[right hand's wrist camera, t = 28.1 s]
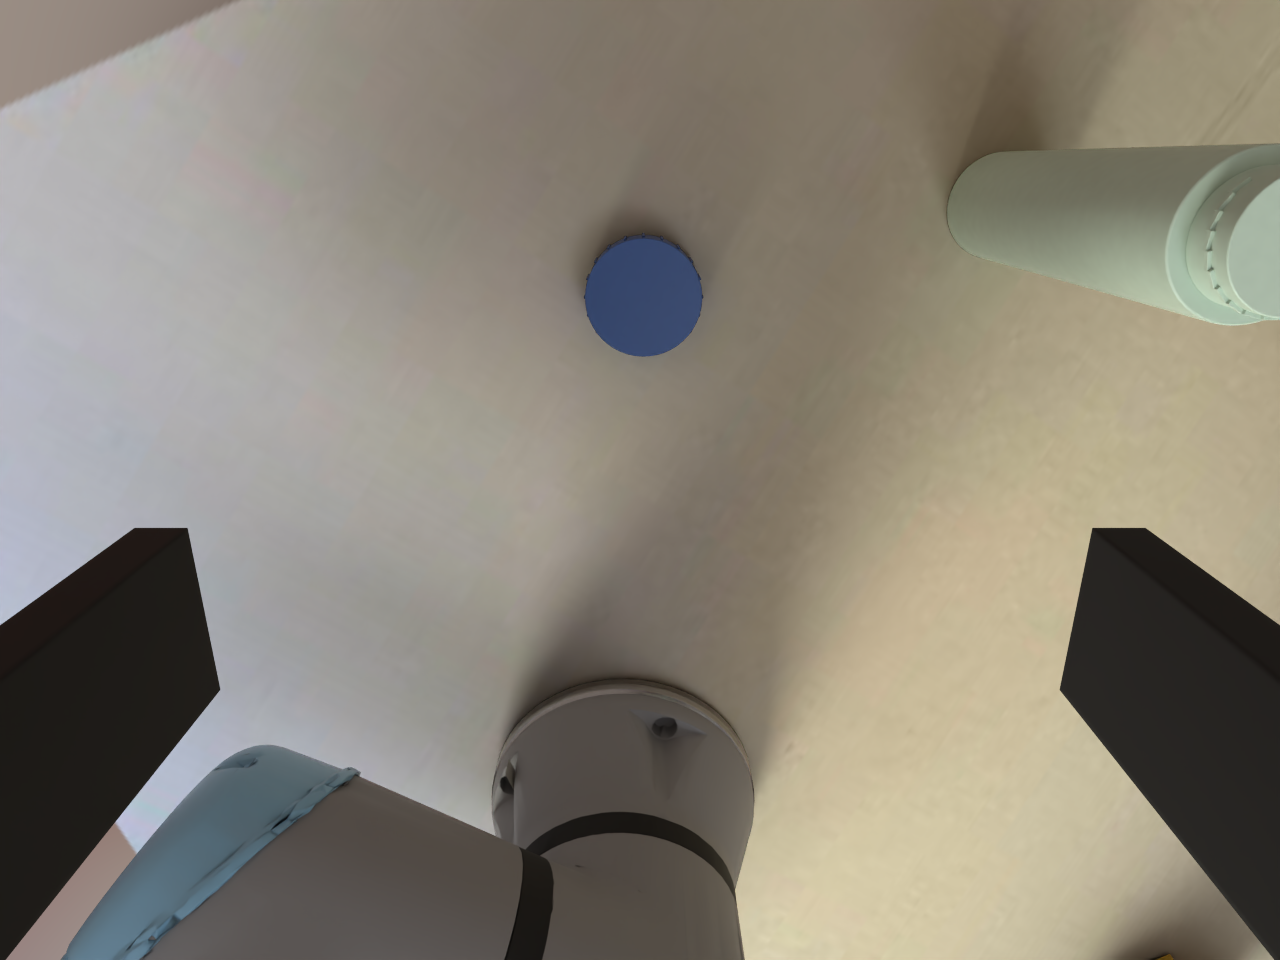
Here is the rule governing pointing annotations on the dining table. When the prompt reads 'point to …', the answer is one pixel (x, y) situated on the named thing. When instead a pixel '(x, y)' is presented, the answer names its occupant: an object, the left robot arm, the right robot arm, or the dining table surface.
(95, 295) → the dining table surface
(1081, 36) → the dining table surface
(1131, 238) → the pale green bottle
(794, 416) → the dining table surface
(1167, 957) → the toy
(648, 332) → the lid
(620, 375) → the dining table surface
